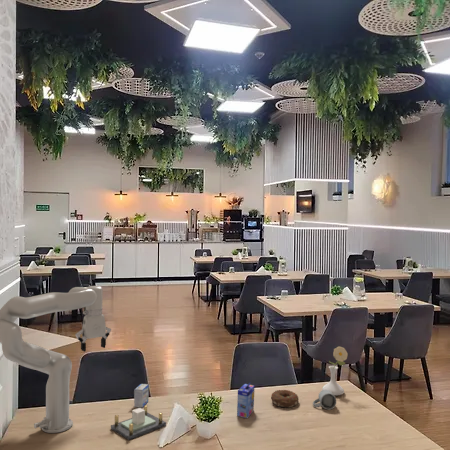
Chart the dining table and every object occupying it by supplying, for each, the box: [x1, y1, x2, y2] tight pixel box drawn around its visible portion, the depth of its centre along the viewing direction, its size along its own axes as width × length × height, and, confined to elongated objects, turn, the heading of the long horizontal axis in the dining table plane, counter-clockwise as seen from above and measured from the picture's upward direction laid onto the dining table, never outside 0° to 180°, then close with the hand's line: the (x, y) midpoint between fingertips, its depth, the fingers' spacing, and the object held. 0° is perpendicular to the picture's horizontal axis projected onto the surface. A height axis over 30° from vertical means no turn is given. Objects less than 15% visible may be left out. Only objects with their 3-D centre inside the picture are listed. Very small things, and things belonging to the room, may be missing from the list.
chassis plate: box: [110, 404, 167, 441], centre depth 190 cm, size 19×14×6 cm
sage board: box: [121, 407, 156, 431], centre depth 191 cm, size 12×9×6 cm
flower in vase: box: [321, 346, 349, 396], centre depth 231 cm, size 13×11×25 cm
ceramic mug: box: [312, 389, 337, 411], centre depth 214 cm, size 11×8×8 cm
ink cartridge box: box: [236, 381, 256, 419], centre depth 205 cm, size 10×6×14 cm, turn 158°
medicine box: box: [133, 383, 149, 409], centre depth 215 cm, size 8×4×9 cm, turn 168°
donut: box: [270, 389, 299, 408], centre depth 218 cm, size 14×14×5 cm
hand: (93, 349), depth 206 cm, fingers open, 9 cm apart
